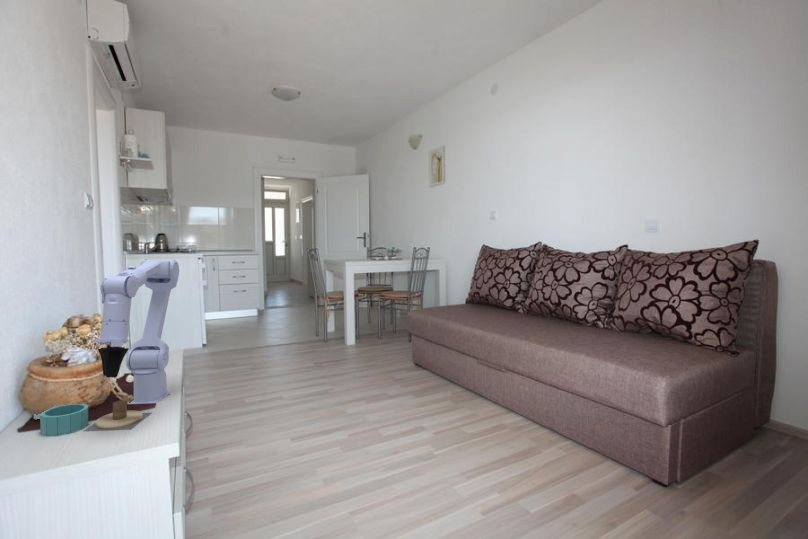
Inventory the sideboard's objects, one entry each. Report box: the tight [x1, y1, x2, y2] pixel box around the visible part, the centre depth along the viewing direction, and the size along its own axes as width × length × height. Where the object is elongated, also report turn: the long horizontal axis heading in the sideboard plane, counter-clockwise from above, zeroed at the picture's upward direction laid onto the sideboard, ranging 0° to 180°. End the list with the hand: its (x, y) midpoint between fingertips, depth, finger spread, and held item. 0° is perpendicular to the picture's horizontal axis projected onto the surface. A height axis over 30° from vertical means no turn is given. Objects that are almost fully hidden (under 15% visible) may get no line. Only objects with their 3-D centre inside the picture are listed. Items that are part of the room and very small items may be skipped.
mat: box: [83, 412, 153, 432], centre depth 104 cm, size 11×11×1 cm
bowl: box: [39, 403, 89, 437], centre depth 100 cm, size 9×9×5 cm
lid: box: [95, 400, 144, 429], centre depth 104 cm, size 10×10×5 cm
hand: (110, 376), depth 100 cm, fingers open, 7 cm apart
